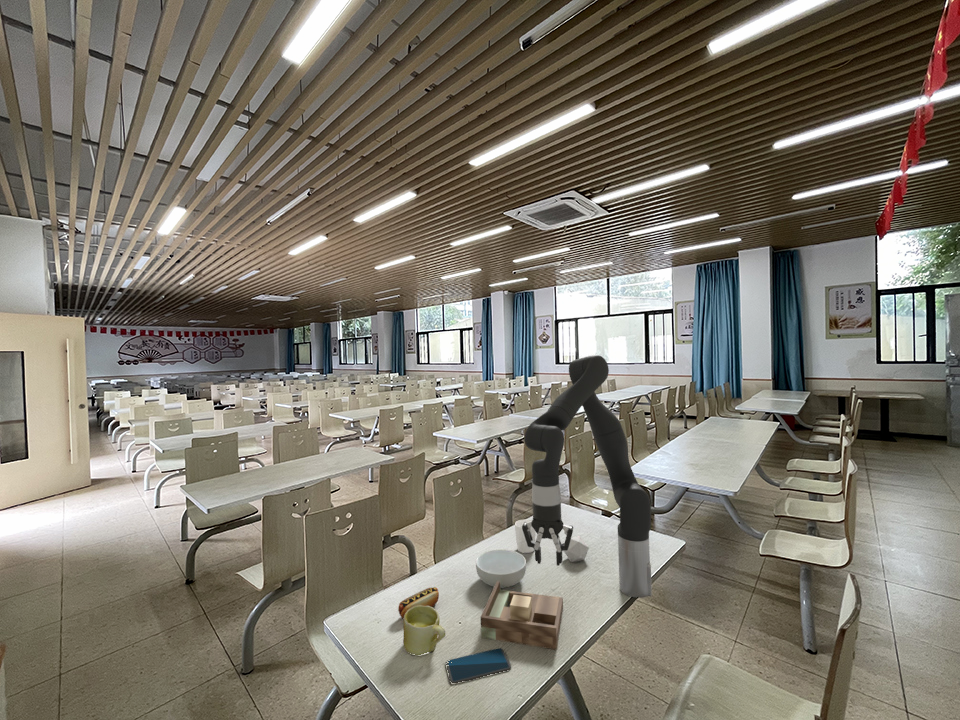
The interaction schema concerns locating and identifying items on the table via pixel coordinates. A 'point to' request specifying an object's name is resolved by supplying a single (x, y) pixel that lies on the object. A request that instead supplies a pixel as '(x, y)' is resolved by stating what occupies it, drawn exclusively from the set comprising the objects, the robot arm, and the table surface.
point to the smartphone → (478, 665)
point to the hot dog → (419, 600)
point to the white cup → (523, 537)
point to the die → (576, 549)
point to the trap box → (532, 633)
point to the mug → (421, 630)
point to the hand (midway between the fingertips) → (548, 562)
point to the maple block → (521, 608)
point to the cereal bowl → (501, 567)
